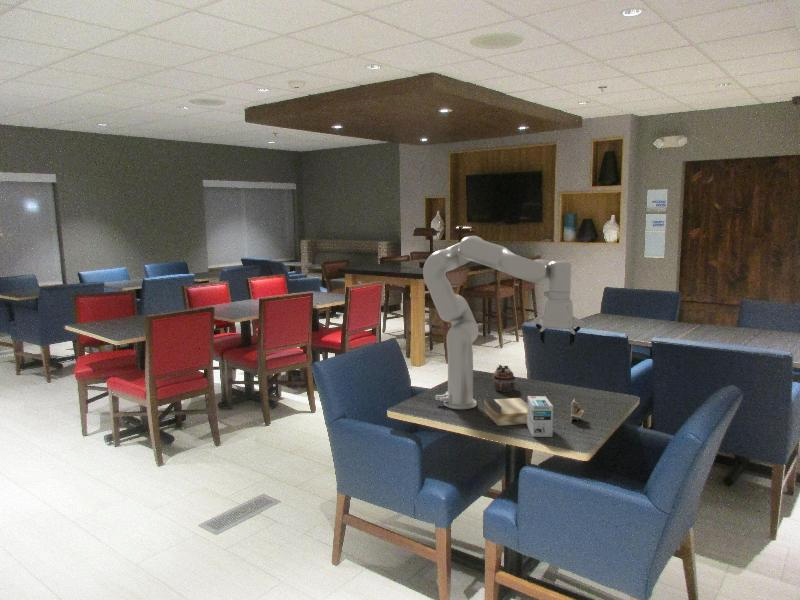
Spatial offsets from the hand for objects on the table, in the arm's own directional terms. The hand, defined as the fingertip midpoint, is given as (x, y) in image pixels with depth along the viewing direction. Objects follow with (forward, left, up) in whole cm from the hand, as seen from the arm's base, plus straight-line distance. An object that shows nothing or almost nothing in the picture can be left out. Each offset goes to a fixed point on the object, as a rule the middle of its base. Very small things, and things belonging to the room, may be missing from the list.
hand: (557, 343), depth 208 cm
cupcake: (-8, +33, -27) cm, 44 cm away
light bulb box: (-12, -14, -27) cm, 33 cm away
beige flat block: (-17, +1, -27) cm, 31 cm away
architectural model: (+5, -6, -27) cm, 28 cm away
